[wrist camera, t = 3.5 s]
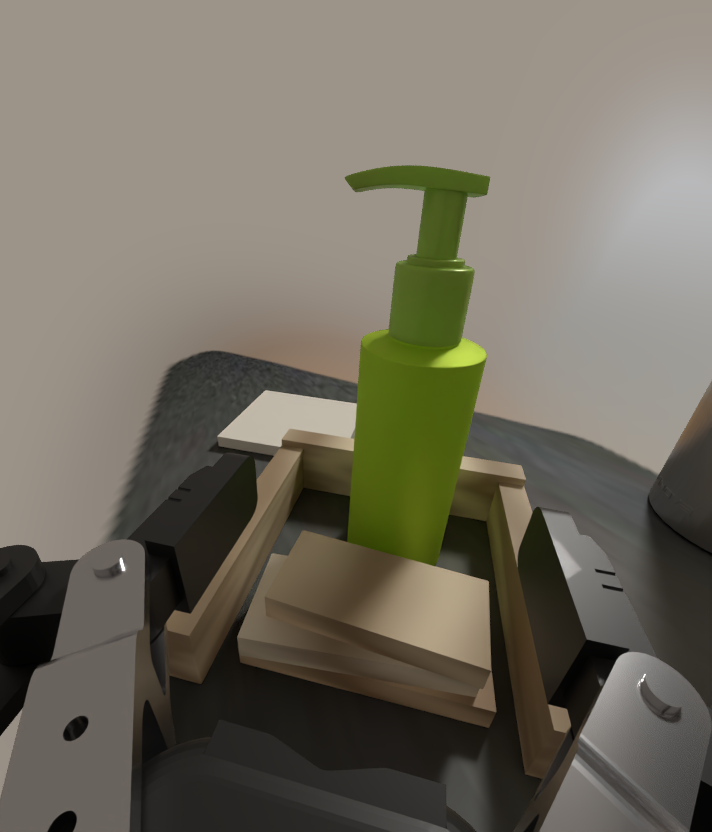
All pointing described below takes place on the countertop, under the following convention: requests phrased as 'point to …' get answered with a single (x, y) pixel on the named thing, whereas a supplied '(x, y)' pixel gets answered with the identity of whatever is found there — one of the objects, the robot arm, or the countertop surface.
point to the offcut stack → (374, 627)
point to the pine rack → (332, 472)
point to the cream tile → (286, 421)
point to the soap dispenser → (416, 377)
